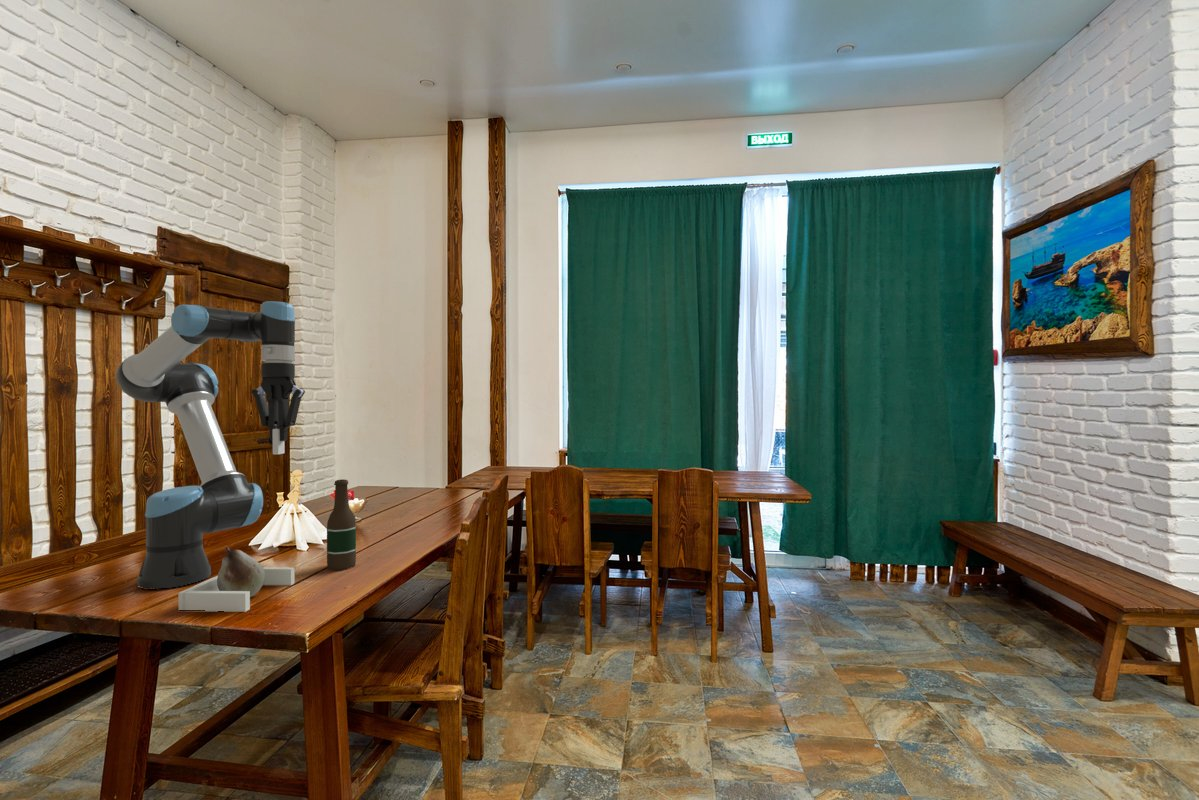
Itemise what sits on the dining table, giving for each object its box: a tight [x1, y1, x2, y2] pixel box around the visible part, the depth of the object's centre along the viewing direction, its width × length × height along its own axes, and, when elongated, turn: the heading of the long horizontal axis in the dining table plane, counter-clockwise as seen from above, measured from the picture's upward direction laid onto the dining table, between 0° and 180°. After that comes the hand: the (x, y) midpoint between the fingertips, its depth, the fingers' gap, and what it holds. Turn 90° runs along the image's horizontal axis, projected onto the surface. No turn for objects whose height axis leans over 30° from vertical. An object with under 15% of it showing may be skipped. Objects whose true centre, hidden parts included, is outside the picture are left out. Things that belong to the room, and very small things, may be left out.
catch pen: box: [178, 566, 295, 613], centre depth 135 cm, size 15×19×4 cm
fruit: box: [217, 547, 265, 598], centre depth 134 cm, size 10×9×12 cm
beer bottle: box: [326, 479, 357, 571], centre depth 158 cm, size 8×8×24 cm
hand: (278, 453), depth 147 cm, fingers closed
